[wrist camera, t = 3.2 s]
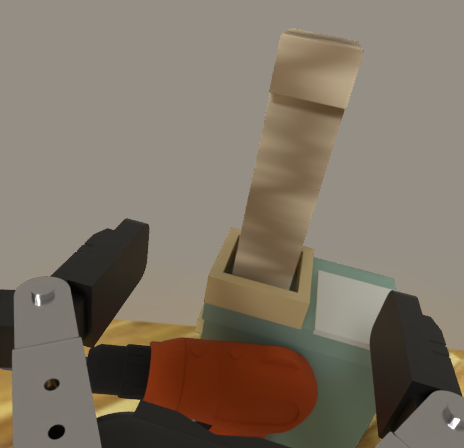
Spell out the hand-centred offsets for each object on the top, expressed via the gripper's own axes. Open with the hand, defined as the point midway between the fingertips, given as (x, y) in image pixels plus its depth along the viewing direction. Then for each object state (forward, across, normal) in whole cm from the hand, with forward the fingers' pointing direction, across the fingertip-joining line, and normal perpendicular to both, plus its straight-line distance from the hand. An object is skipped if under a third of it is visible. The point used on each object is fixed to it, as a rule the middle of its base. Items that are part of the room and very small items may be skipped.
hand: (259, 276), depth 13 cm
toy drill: (+4, +4, +23) cm, 24 cm away
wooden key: (+10, 0, +8) cm, 13 cm away
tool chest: (+12, -3, +22) cm, 26 cm away
